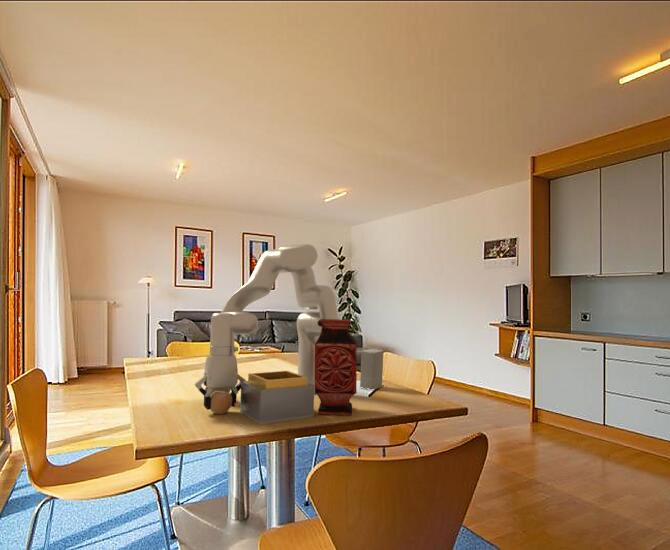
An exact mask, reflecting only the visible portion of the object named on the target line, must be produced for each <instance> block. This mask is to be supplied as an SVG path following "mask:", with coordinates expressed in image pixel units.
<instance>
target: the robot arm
mask: <svg viewBox="0 0 670 550" xmlns="http://www.w3.org/2000/svg"><path fill="white" fill-rule="evenodd" d="M317 261H318V251H317V249H316V248H315V246H314V245H312V244H309V243H306V244H305V243H304V244H303V243H302V244H288V245H283V246H280V247H278V248H277V249H276V248H274V249H268V250H266V251H264V252H262V254H261V256H260V258H259V259H258V261H257V263H256V265H255V267H254V269H253V271H252V273H251V275H250V276H249V279H248V280H247V282H246V283H245V284H244V285H242V286H241V287H240V288H239V289H238V290H236V292H234V293H233V294H232V295H231V296H230V297H229V299H228V300H227V301H226V303H225V304H224V307H222V311H221V312H214V313H212V315H211V317H210V338H209V340H210V341H209V355H207V356H206V360H205V364H204V370H203V376H202V377H201V378H199V379H198V380H197V381H196V382H195V383H194V386H195V388H197V390H198V391H199V392H200V393H201V395H203V407H204V408H205V409H206V410H207V411H209V410H210V402H211V397H210V396H209V395H210V393H211V391H212V389H213V388H224V387H230V394H231V396H232V405H231V407H234V408H235V407H236V404H237V398H238V397H237V394H238V393H239V392H240V391H241V381H247V380H246V379H245V378H243V377H242V376H241V375H240V374H239V373H238V372H239V370H238V369H239V368H238V361H237V360H238V359H237V355H236V352H238V351H239V347H238V346H235V335H242V336H248V335H251V334H253V333H254V332H256V330H257V329H258V326H259V319H258V317H257V316H256V315H255V314H253V312H252V313H251V312H247V311H244V309H245V308H247V307H248V306H249V305H250V304H252V303H253V302H256V301H258V300H260V299H263V298H265V297H266V296H268V295H269V294H270V292H271V291H272V288H273V286H274V284H275V282H276V281H277V278H278V276H279V274H282V273H285V274H286V273H290V274H291V276H292V279H293V285H294V291H295V298H296V303H297V306H299V307H300V308H301V309H303V310H307V311H304V312H301V313H300V314H299V315H298V317H297V319H296V331H297V336H298V337H297V338H298V353H297V355H298V356H297V357H298V358H297V359H298V360H297V374H299V375H302V376H305V377H307V383H309V384H312V385H314V394H316V393H315V343H316V342H317V340H318V338H319V336H320V334H321V329H322V327H321V326H319V325H318V321H319V320H320V319H339V316H338V308H337V300H336V296H335V295H336V294H335V292H334V291H333V289H332V288H331V287H330V286H328V285H325V284H322V285H320V284H319V285H318V284H317V282H316V277H315V271H314V269H313V267H312V266H314V265H315V264H316V262H317ZM309 310H318V311H309ZM238 381H239V382H238ZM202 385H203V386H204V387H205V388H203V386H202ZM210 411H211V410H210Z"/></svg>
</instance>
